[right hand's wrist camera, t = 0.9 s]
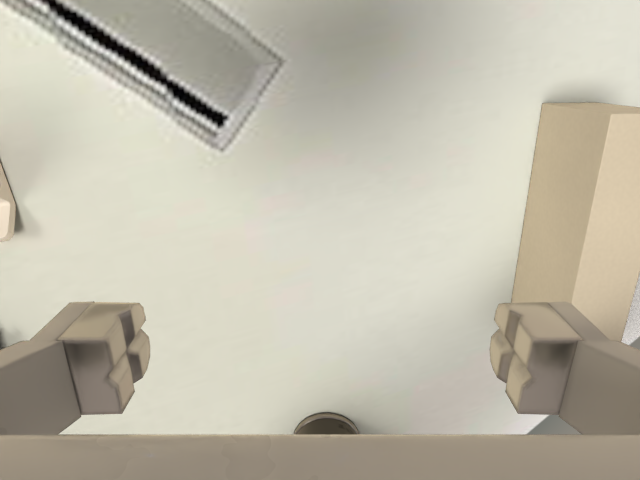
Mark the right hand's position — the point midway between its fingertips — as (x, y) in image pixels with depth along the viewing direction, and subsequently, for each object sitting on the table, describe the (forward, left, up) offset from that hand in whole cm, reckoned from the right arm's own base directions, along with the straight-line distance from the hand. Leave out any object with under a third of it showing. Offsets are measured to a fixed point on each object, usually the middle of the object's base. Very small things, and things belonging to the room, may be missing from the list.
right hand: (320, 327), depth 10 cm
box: (+11, +26, -40) cm, 49 cm away
